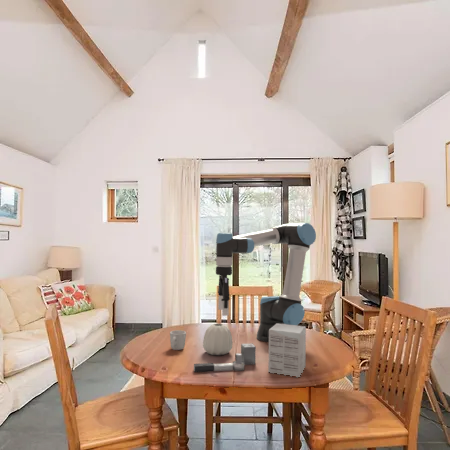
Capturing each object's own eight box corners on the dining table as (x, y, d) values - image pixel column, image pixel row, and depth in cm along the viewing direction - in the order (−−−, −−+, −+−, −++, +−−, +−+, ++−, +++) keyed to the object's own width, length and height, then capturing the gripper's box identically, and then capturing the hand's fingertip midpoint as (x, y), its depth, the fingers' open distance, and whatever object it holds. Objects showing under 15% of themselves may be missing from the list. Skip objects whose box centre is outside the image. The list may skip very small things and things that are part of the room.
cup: (180, 353, 168) (181, 336, 168) (164, 352, 169) (165, 335, 170) (187, 346, 178) (188, 330, 179) (172, 345, 180) (173, 329, 180)
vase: (210, 359, 160) (211, 329, 161) (198, 350, 172) (199, 322, 173) (237, 355, 166) (238, 326, 167) (223, 347, 179) (224, 320, 179)
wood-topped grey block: (252, 360, 160) (252, 343, 160) (255, 364, 155) (255, 346, 155) (240, 360, 159) (241, 343, 159) (243, 364, 154) (244, 347, 154)
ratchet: (242, 366, 152) (242, 352, 152) (245, 370, 147) (245, 355, 147) (193, 368, 148) (193, 354, 148) (194, 373, 143) (195, 358, 143)
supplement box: (275, 362, 157) (276, 322, 158) (305, 367, 152) (306, 326, 153) (267, 372, 145) (268, 329, 146) (300, 378, 140) (300, 333, 141)
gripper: (212, 264, 177) (212, 307, 176) (219, 268, 152) (218, 318, 151) (227, 264, 178) (227, 307, 177) (236, 268, 153) (235, 318, 152)
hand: (223, 312), depth 164 cm, fingers open, 13 cm apart
